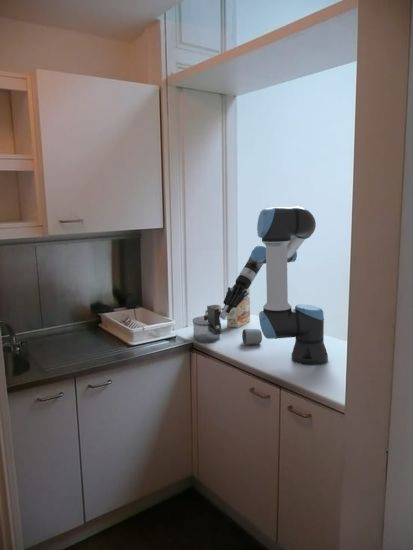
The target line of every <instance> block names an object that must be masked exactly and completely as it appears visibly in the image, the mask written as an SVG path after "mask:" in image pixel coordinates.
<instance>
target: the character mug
mask: <svg viewBox="0 0 413 550" xmlns="http://www.w3.org/2000/svg"><path fill="white" fill-rule="evenodd" d="M211 305H212V306H214V307H216V308H218V309H219V318H220V319H222V318H221V317H220V314H221V312H222V310H223V308H224V307H222V305H221V304H210V305H208V306H211ZM204 313H205V314H204V315H207V309H206V310H205V312H204ZM219 328H220V329H221V330H222V323H221V321H220V322H219Z"/></svg>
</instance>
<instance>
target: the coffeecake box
mask: <svg viewBox="0 0 413 550" xmlns="http://www.w3.org/2000/svg"><path fill="white" fill-rule="evenodd" d="M246 291H247V292H248V293H249V294H248V295H247V296H246V297H245V298H244V299H243V300H242V301H241V302H240V304H239V305H238V306H237V307H236V308H232V309H231V311H230V312H229V313H228V315H227V316H226V325H227V326H226V327H230V328H237V329H238V328H240V327H242V326H244V325H246V324H248V323H250V322H251V305H250V304H251V301H250V299H251V297H250V296H251V294H250V292H251V291H250V287H249V288H248V289H247V290H246ZM227 292H228V291H226V292H225V293H226V294H227ZM226 294H225V295H226ZM235 305H236V304H235Z"/></svg>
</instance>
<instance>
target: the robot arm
mask: <svg viewBox="0 0 413 550" xmlns="http://www.w3.org/2000/svg"><path fill="white" fill-rule="evenodd" d="M316 224H317V223H316V219H315V217H314V215H313V214H312V213H311V212H310V211H309V210H308V209H307V208H303V207H301V206H293V207H292V206H291V207H289V206H288V207H267V208H263V209H262V210H261V211H260V213H259V214H258V219H257V224H256V225H257V226H256V230H257V236H258V238H260V239H261V242H262V244H264V245H262V244H261V245H257V246H255V247H254V248H253V249H252V250H251V254H250V256H249V258H248V259H247V261H246V263H245V265H244V267H243V268H242V269H241V271H240V273H239V275H238V276H237V278H236V279H235V284H233V286H231V287H230V286H228V287H227V291H226V292H227V294H225V298H224V300H223V301H222V302H223V304H224V307H222V308H223V310H221V314H220V317H221V318H220V319H222V320H226V319H227V315H228V313H229V312H230V311H231V309H232V308H236V307H237V306H238V305H239V304H240V302H241V301H242V300H243V299H244V298H245V297H246V296H247V295H248V294H249V293H248V292H247V291H246V290H247V289H248V288H250V286H251V285H252V282H254V280H255V278H256V277H257V274H258V273H259V272H260V270H261V269H262V267H263V266H264V264H265V269H266V274H265V275H266V281H265V282H266V302H265V304H264V305H263V307H262V308H263V311H262V310H261V311H259V313H258V318H259V319H258V320H259V324H260V331H261V333H262V335H263V336H264V337H265V338H266V339H268V340H269V339H270V340H273V339H275V340H277V339H287V338H289V339H291V338H295V342H294V345H293V349H292V352H291V361H293V362H294V363H295V364H299V365H304V366H318V365H319V366H320V365H323V364H325V363H327V362H328V361H329V359H328V357H329V356H328V352H327V349H326V346H325V343H324V341H325V340H324V327H325V325H324V324H325V318H324V310H323V309H322V307H321V308H320V307H319V306H315V305H311V304H304V303H303V304H296V305H295V306H294V309H292V305H291V304H290V303H289V302H288V300H289V299H288V297H289V296H288V291H289V290H288V287H289V286H288V264H290V263H293V262H296V261H297V258H298V249H299V248H300V247H301V246H302V244H303V243H304V242H305V240H306V239H309V238H310V237H311V236H312V235H313V233H315V230H316ZM235 304H236V305H235Z"/></svg>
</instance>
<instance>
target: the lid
mask: <svg viewBox="0 0 413 550" xmlns="http://www.w3.org/2000/svg"><path fill="white" fill-rule="evenodd" d="M210 305H211V306H209V305H207V306H206V308H207V309H206V310H207V315H205V314H204V315H201V316H196V317H194V318H192V320H191V321H192V324H193V323H194V324H197V325H214V326H219V322H220V323H221V318H219V309H218V308H216V307H214V306H212V305H213V304H210Z"/></svg>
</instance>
